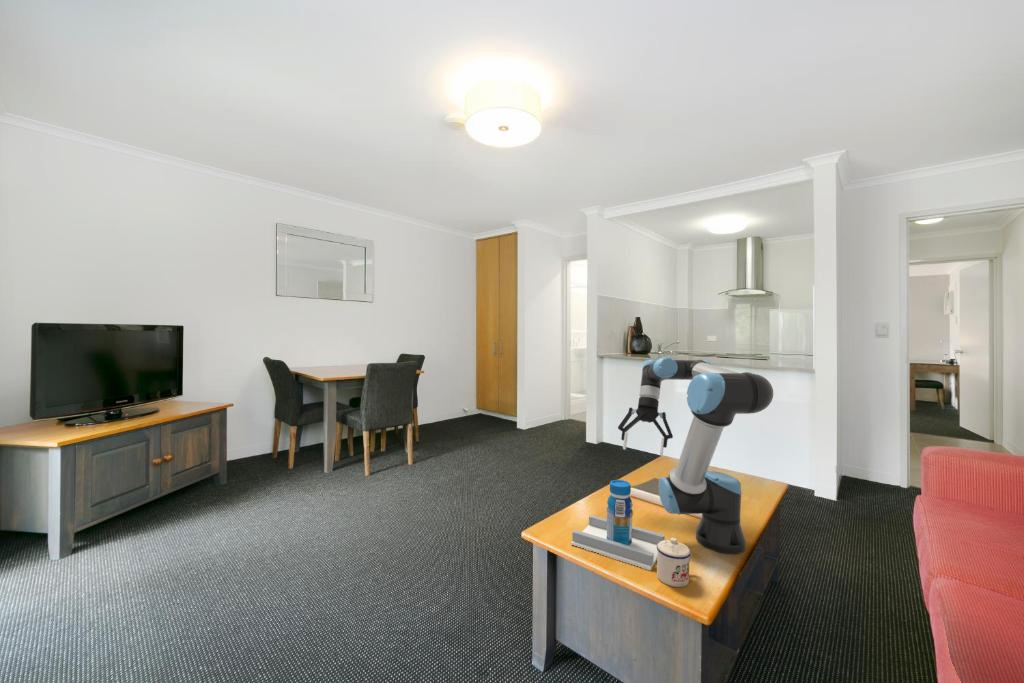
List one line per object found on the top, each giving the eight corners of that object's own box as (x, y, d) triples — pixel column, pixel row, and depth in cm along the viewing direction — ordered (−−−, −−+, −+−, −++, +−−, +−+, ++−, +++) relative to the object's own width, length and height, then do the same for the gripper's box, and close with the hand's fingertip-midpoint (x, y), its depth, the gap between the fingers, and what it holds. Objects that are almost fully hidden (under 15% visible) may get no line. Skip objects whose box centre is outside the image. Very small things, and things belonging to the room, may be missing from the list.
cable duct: (665, 545, 140) (665, 533, 139) (650, 570, 124) (651, 557, 124) (592, 524, 154) (592, 513, 154) (571, 545, 139) (571, 533, 139)
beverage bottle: (600, 540, 140) (601, 481, 139) (616, 533, 145) (618, 476, 144) (621, 551, 133) (622, 489, 133) (637, 543, 138) (638, 484, 138)
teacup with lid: (674, 591, 115) (675, 550, 114) (649, 574, 123) (650, 535, 122) (703, 579, 120) (704, 540, 120) (677, 564, 128) (678, 526, 128)
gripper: (682, 405, 163) (677, 460, 157) (618, 396, 174) (611, 448, 167) (682, 400, 157) (677, 457, 150) (615, 392, 167) (607, 445, 161)
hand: (642, 452), depth 159 cm, fingers open, 13 cm apart
